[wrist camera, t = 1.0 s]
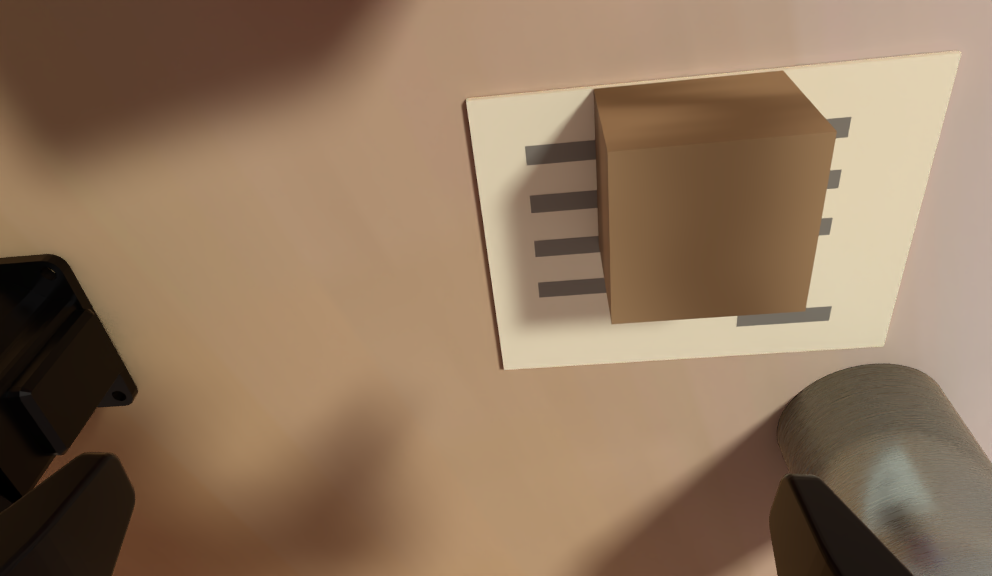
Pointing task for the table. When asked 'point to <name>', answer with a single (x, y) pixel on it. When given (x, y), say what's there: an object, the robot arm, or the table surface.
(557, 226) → the letter
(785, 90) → the walnut block
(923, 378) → the bottle
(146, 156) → the table surface
